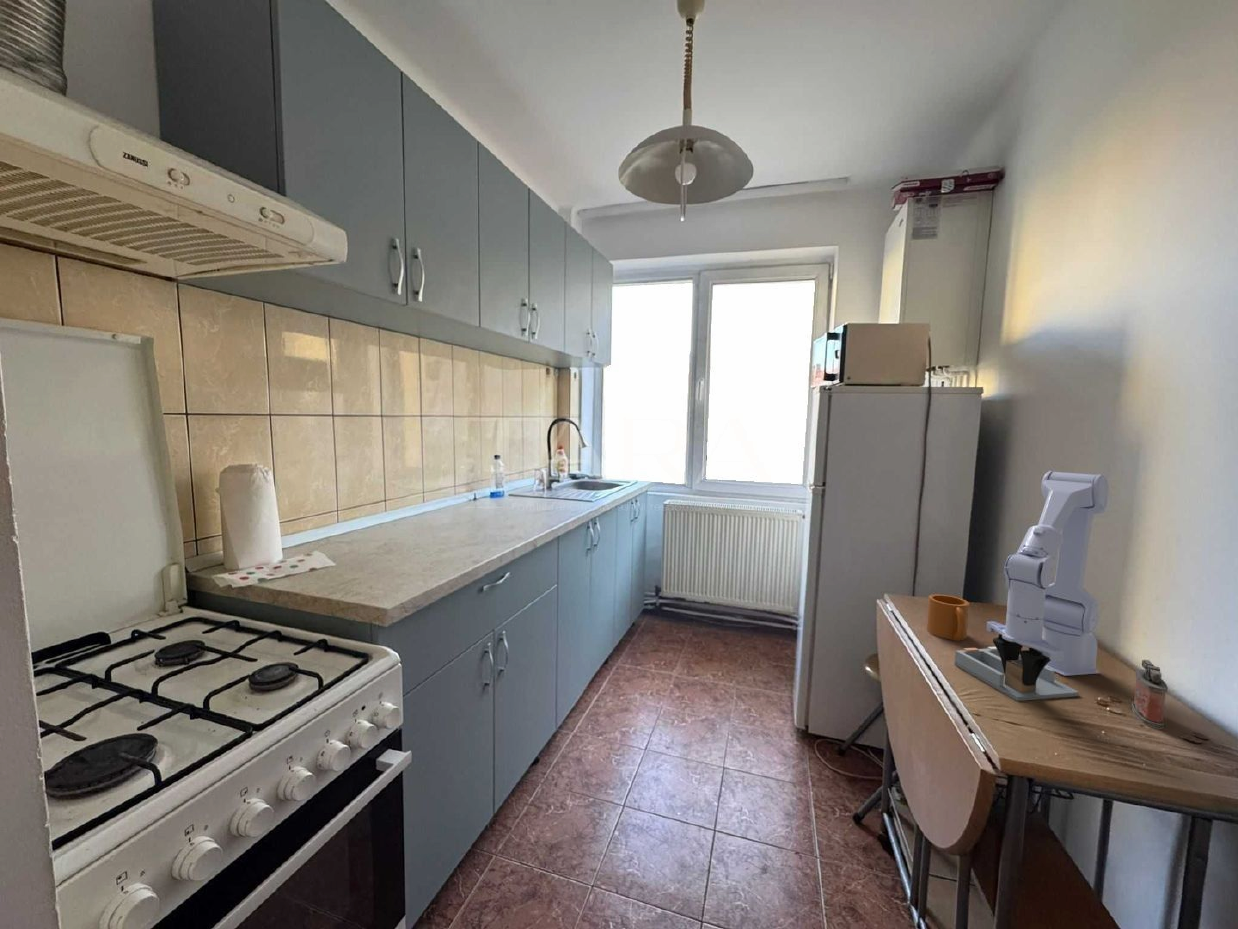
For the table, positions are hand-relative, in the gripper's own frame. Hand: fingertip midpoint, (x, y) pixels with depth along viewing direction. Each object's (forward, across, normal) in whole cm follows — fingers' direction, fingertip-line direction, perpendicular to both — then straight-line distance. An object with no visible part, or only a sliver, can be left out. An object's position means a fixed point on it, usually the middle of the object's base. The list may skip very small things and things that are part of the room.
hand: (1019, 679), depth 102 cm
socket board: (+3, -4, +4) cm, 6 cm away
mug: (+3, -27, +8) cm, 28 cm away
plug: (+2, 0, 0) cm, 2 cm away
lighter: (+3, +11, +16) cm, 20 cm away
